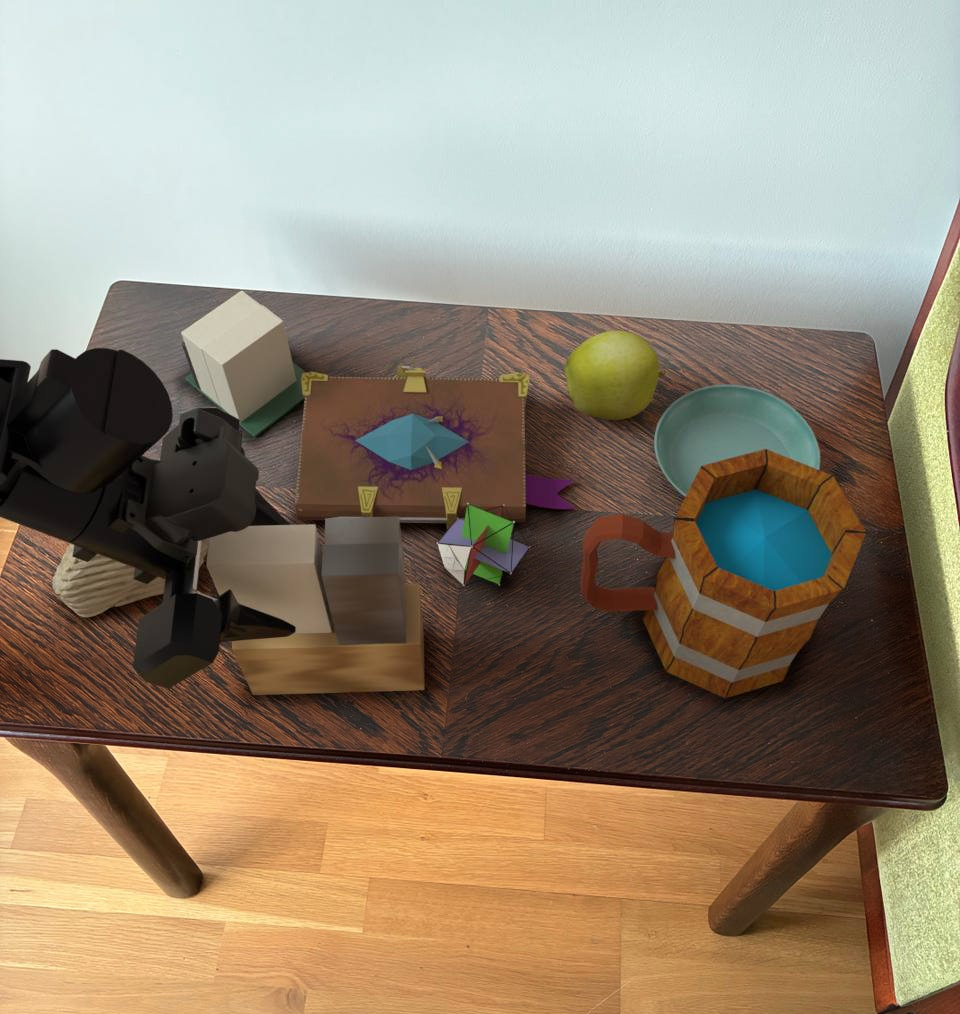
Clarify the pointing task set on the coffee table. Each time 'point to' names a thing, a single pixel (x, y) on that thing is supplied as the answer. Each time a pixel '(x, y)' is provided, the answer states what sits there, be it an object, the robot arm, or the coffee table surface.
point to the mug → (737, 570)
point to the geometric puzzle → (480, 546)
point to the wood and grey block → (350, 622)
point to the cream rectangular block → (274, 573)
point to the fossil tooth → (102, 583)
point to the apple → (612, 375)
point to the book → (416, 448)
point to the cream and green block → (244, 363)
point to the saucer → (728, 431)
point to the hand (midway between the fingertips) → (294, 585)
